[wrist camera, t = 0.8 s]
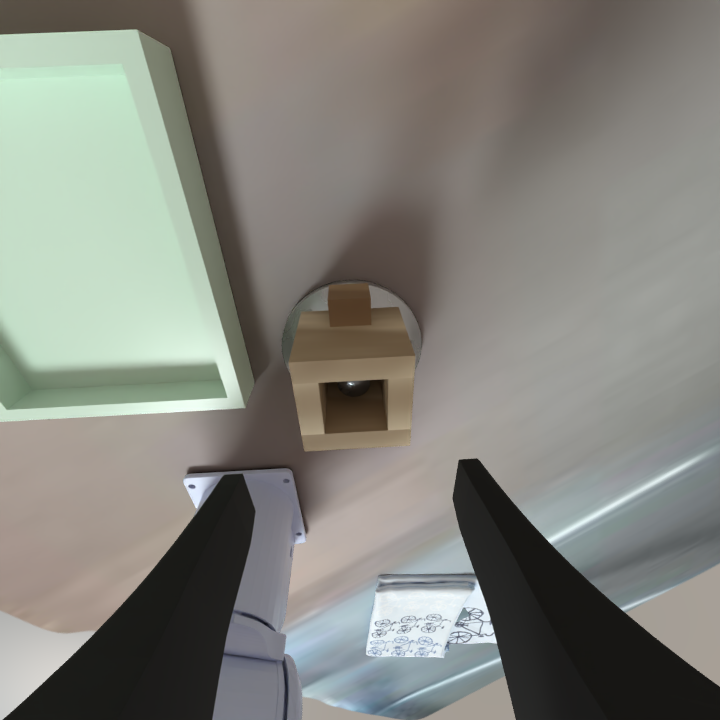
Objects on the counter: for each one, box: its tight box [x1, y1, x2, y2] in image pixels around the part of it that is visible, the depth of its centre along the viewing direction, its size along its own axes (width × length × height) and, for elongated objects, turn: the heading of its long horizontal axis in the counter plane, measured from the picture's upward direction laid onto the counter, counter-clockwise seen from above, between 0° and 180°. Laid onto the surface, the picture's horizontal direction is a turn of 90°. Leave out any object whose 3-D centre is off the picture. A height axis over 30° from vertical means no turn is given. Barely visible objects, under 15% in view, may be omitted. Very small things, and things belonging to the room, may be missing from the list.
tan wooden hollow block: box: [288, 283, 415, 452], centre depth 17 cm, size 7×5×5 cm
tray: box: [0, 29, 255, 422], centre depth 16 cm, size 16×14×2 cm
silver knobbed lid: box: [282, 280, 422, 397], centre depth 18 cm, size 8×8×4 cm
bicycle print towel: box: [366, 575, 497, 658], centre depth 40 cm, size 19×20×2 cm
